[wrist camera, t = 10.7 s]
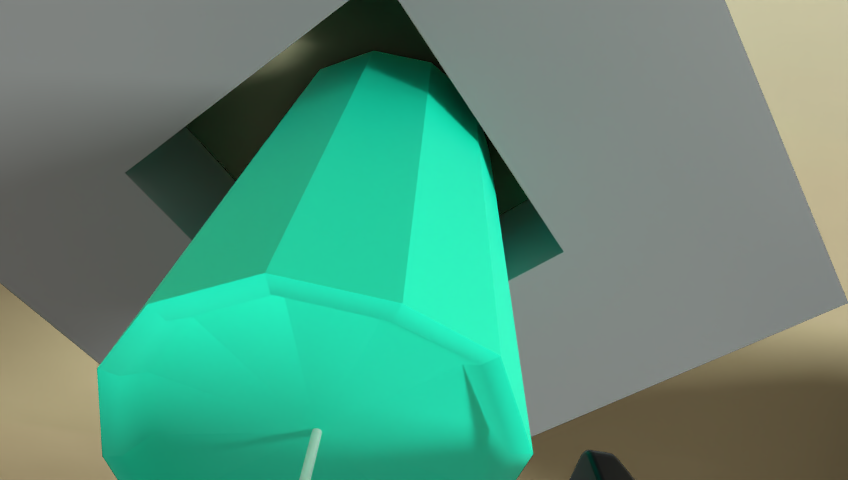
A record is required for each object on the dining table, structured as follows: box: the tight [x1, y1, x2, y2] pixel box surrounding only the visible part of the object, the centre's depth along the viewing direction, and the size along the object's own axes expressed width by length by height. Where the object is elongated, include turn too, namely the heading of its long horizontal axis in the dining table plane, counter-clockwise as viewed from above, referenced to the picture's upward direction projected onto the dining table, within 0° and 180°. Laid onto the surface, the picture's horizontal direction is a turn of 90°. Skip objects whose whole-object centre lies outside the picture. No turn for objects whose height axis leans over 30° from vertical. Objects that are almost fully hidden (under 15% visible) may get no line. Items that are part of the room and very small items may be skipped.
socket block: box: [0, 0, 848, 437], centre depth 15 cm, size 18×18×4 cm
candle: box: [97, 51, 533, 480], centre depth 12 cm, size 6×6×12 cm
